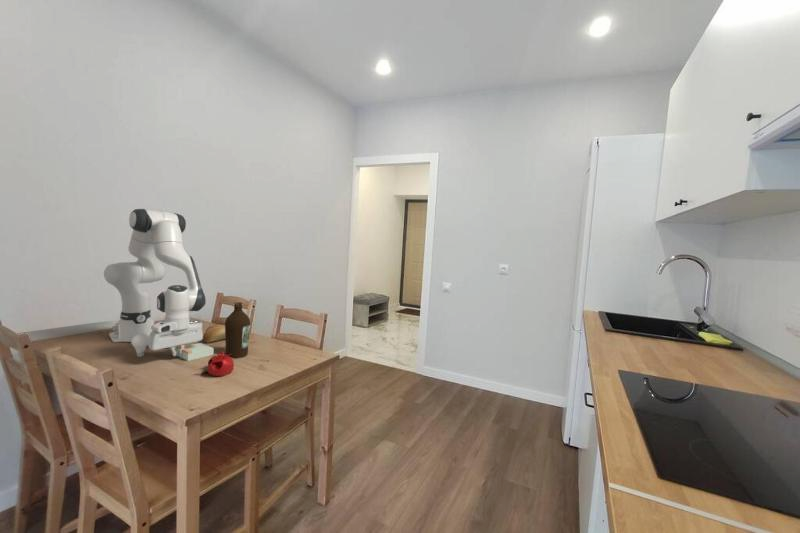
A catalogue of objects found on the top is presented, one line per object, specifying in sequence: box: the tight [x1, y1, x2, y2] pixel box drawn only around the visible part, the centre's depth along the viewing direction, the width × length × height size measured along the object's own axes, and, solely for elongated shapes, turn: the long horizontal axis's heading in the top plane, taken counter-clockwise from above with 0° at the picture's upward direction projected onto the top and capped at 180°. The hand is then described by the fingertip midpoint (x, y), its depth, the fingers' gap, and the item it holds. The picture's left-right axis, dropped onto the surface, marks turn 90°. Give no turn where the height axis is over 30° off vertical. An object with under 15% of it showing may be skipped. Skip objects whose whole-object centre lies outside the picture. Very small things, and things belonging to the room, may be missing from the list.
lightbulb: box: [130, 333, 149, 357], centre depth 146 cm, size 6×6×11 cm
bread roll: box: [202, 324, 225, 344], centre depth 177 cm, size 10×15×8 cm, turn 156°
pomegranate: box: [206, 350, 235, 377], centre depth 137 cm, size 10×10×9 cm
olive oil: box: [224, 301, 251, 359], centre depth 157 cm, size 11×11×25 cm
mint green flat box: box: [174, 342, 215, 362], centre depth 151 cm, size 11×11×4 cm
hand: (176, 355), depth 145 cm, fingers closed
